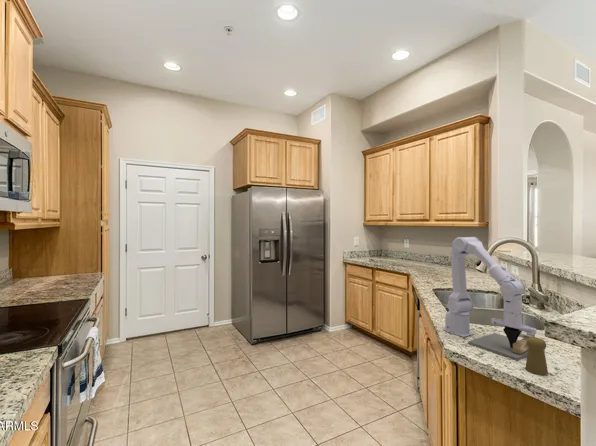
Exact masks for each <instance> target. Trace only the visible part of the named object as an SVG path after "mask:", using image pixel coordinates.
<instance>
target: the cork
mask: <svg viewBox="0 0 596 446" xmlns="http://www.w3.org/2000/svg"><path fill="white" fill-rule="evenodd" d="M536 337H537V336H535V337H529V338H528V339H527V345H528V346H529V348H528V355H527V357H526V362H525V370H526V371H527V372H528V373H530V374H533V375H537V376H549V371H548V365H547V358H546V353H545V349H546V348H547V343H546V341H545V340H544V339H542V338H540V337H537V338H536Z"/></svg>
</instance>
